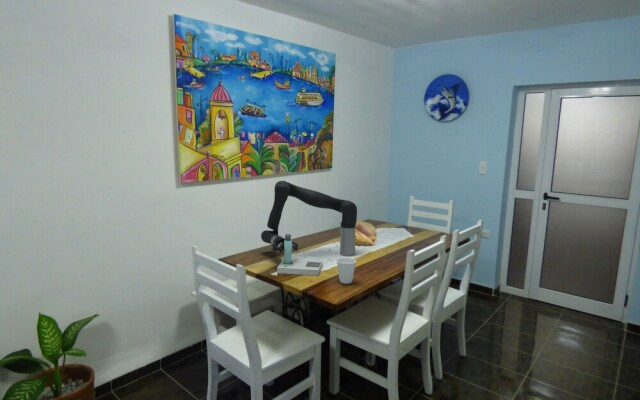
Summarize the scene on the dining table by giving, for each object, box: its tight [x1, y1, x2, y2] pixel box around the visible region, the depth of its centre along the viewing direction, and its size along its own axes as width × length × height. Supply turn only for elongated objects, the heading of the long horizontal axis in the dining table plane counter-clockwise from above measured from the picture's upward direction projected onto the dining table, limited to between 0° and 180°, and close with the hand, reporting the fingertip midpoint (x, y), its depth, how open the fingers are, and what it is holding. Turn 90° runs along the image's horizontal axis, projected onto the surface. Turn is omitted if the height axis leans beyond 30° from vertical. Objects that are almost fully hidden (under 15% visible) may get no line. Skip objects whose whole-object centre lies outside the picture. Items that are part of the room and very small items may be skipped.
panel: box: [276, 258, 324, 277], centre depth 205 cm, size 16×22×4 cm
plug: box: [283, 233, 293, 265], centre depth 204 cm, size 4×4×19 cm
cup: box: [336, 257, 357, 285], centre depth 186 cm, size 10×10×11 cm
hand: (289, 250), depth 202 cm, fingers open, 8 cm apart
